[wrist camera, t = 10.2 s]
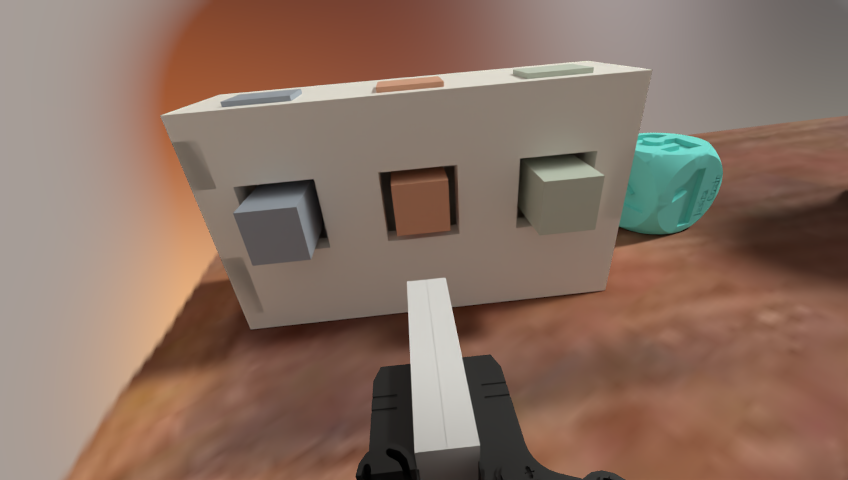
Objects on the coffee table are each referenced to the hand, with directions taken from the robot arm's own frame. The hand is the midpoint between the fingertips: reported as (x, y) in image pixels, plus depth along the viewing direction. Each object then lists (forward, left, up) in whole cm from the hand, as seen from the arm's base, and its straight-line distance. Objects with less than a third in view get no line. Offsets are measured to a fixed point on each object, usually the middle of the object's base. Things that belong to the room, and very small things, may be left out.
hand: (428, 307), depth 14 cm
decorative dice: (-2, -33, -10) cm, 34 cm away
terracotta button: (+9, -9, -2) cm, 13 cm away
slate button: (+14, -2, -2) cm, 14 cm away
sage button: (+1, -14, -2) cm, 14 cm away
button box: (+10, -11, -9) cm, 18 cm away
